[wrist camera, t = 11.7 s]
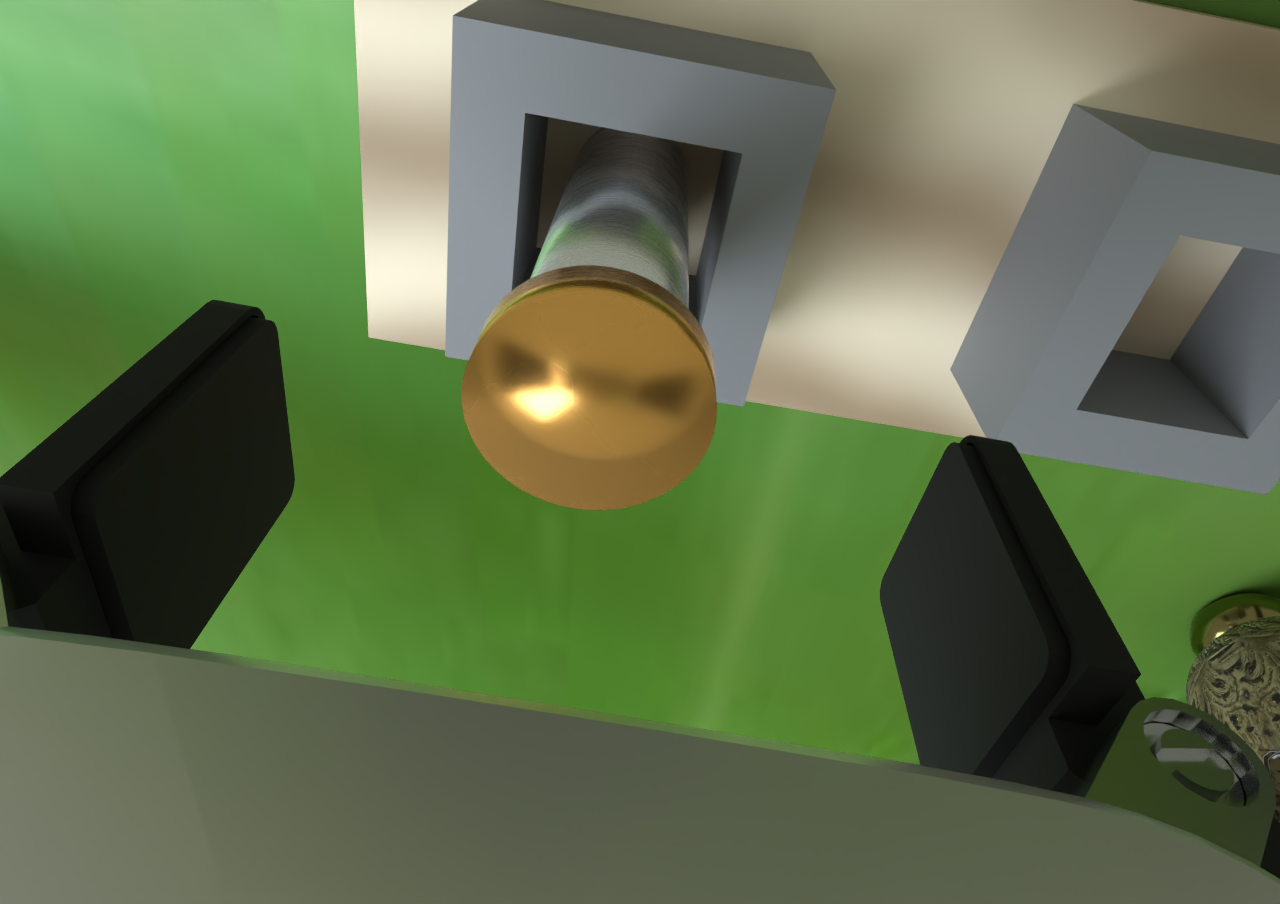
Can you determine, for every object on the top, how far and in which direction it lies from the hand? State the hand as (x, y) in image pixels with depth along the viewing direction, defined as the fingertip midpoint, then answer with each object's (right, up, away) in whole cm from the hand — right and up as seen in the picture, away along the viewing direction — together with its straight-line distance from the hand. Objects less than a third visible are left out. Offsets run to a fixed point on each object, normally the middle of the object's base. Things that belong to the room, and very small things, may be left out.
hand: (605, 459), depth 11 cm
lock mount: (+14, +5, +10) cm, 18 cm away
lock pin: (0, +7, +10) cm, 12 cm away
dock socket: (0, +7, +10) cm, 12 cm away
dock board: (+7, +7, +11) cm, 15 cm away
